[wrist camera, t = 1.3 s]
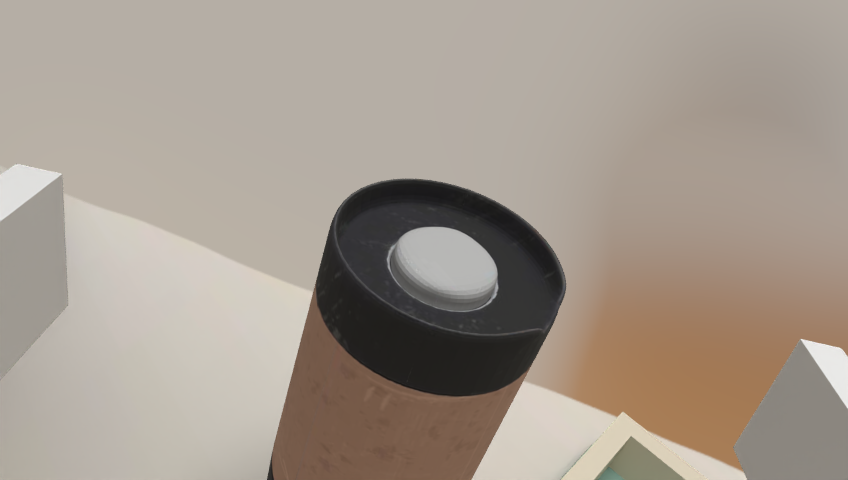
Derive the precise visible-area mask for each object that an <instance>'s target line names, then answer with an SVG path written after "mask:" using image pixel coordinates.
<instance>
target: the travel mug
mask: <svg viewBox="0 0 848 480" xmlns="http://www.w3.org/2000/svg"><path fill="white" fill-rule="evenodd" d="M565 291H566V280H565V275H564V272H563V269H562V267H561V264H560V262H559V260H558V258H557V256H556V254H555V253H554V251H553V250H552V248H551V247H550V245H549V244H548V243H547V241H546V240H545V239H544V238H543V237H542V236H541V235H540V234H539V232H538V231H537V230H535V229H534V228H533V227H532V226H531V225H530V224H529V223H528V222H526V221H525V220H524V219H523V218H521V217H520V216H518V215H517V214H516V213H514V212H513V211H511V210H509V209H508V208H507V207H505V206H503V205H501V204H499V203H498V202H496V201H494V200H492V199H490V198H488V197H486V196H483V195H481V194H479V193H476V192H474V191H471V190H468V189H465V188H462V187H459V186H455V185H451V184H447V183H443V182H437V181H432V180H423V179H393V180H387V181H381V182H377V183H374V184H371V185H368V186H366V187H363V188H361V189H359V190H357V191H356V192H354V193H353V194H351V195H350V196H349V197H348V198H347V199H346V200H345V201H344V202H343V203H342V204H341V206H340V207H339V208H338V210H337V212H336V214H335V216H334V218H333V220H332V223H331V226H330V230H329V234H328V237H327V241H326V245H325V249H324V253H323V257H322V261H321V264H320V268H319V272H318V277H317V280H316V284H315V288H314V292H313V295H312V299H311V303H310V307H309V311H308V315H307V319H306V323H305V326H304V330H303V334H302V338H301V342H300V346H299V350H298V353H297V357H296V361H295V365H294V369H293V373H292V377H291V381H290V384H289V388H288V392H287V396H286V400H285V404H284V408H283V412H282V415H281V419H280V423H279V427H278V431H277V435H276V439H275V443H274V447H273V452H272V457H271V462H270V467H269V473H268V478H267V480H471V479H472V477H473V475H474V473H475V472H476V470H477V468H478V466H479V464H480V462H481V460H482V458H483V456H484V454H485V453H486V451H487V449H488V447H489V445H490V443H491V441H492V439H493V437H494V435H495V434H496V432H497V430H498V428H499V426H500V424H501V422H502V420H503V418H504V416H505V415H506V413H507V411H508V409H509V407H510V405H511V403H512V401H513V399H514V397H515V396H516V394H517V392H518V390H519V388H520V386H521V384H522V382H523V380H524V378H525V377H526V375H527V373H528V371H529V369H530V367H531V365H532V363H533V361H534V359H535V358H536V356H537V354H538V352H539V350H540V348H541V346H542V344H543V342H544V340H545V339H546V337H547V335H548V333H549V331H550V329H551V327H552V325H553V323H554V320H555V318H556V316H557V313H558V309H559V307H560V305H561V303H562V300H563V298H564V295H565Z"/></svg>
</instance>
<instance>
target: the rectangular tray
mask: <svg viewBox="0 0 848 480" xmlns="http://www.w3.org/2000/svg"><path fill="white" fill-rule="evenodd" d="M560 480H708V479H707V478H706V477H704V476H703V475H702V474H701V473H699V472H698V471H697V470H696V469H694V468H693V467H692V466H691V465H689V464H688V463H687V462H686V461H684V460H683V459H682V458H680V457H679V456H678V455H677V454H675V453H674V452H673V451H672V450H670V449H669V448H668V447H667V446H665V445H664V444H663V443H662V442H660V441H659V440H658V439H657V438H655V437H654V436H653V435H651V434H650V433H649V432H648V431H646V430H645V429H644V428H643V427H641V426H640V425H639V424H638V423H636V422H635V421H634V420H632V419H631V418H630V417H629V416H627V415H626V414H625V413H624V412H622V413H621V414H620V415H619V416H618V417H617V419H616V420H615V421H614V422H613V423H612V424H611V425H610V426H609V427H608V428H607V430H606V431H605V432H604V433H603V434H602V435H601V436H600V437H599V438H598V439H597V440H596V442H595V443H594V444H593V445H591V446H590V447H589V449H588V450H587V451H586V452H585V453H584V454H583V455H582V456H581V457H580V458H579V460H578V461H577V462H576V463H575V464H574V465H573V466H572V467H571V468H570V469H569V471H568V472H567V473H566V474H565V475H564V476H563V477H562V478H561V479H560Z"/></svg>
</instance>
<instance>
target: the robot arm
mask: <svg viewBox="0 0 848 480" xmlns="http://www.w3.org/2000/svg"><path fill="white" fill-rule="evenodd" d="M67 306H68V290H67V268H66V245H65V223H64V200H63V179H62V174H60V173H56V172H52V171H47V170H43V169H38V168H34V167H30V166H25V165H20V164H16V165H14V166H12V167H11V168H9V169H8V170H6V171H5V172H3V173H2V174H0V380H1V379H2V377H3V376H4V375H5V374H6V373H7V372H8V371H9V370H10V369H11V368H12V366H13V365H14V364H15V363H16V362H17V361H18V360H19V359H20V358H21V356H22V355H23V354H24V353H25V352H26V351H27V350H28V349H29V348H30V347H31V345H32V344H33V343H34V342H35V341H36V340H37V339H38V338H39V337H40V336H41V334H42V333H43V332H44V331H45V330H46V329H47V328H48V327H49V326H50V324H51V323H52V322H53V321H54V320H55V319H56V318H57V317H58V316H59V315H60V313H61V312H62V311H63V310H64V309H65V308H66V307H67ZM733 448H734V451H735V453H736V455H737V457H738V460H739V462H740V464H741V466H742V469H743V471H744V473H745V476H746V478H747V480H848V357H847V355H846V354H845V353H844V351H843V350H842V349H841V348H838V347H834V346H829V345H824V344H820V343H816V342H811V341H807V340H802V339H800V341H799V342H798V344H797V345H796V347H795V349H794V350H793V352H792V354H791V355H790V357H789V358H788V360H787V361H786V363H785V365H784V366H783V368H782V370H781V371H780V373H779V374H778V376H777V378H776V379H775V381H774V382H773V384H772V386H771V387H770V389H769V391H768V392H767V394H766V395H765V397H764V399H763V400H762V402H761V403H760V405H759V407H758V408H757V410H756V412H755V413H754V415H753V416H752V418H751V420H750V421H749V423H748V424H747V426H746V428H745V429H744V431H743V432H742V434H741V436H740V438H739V439H738V440H737V442H736V444H735V445H734V447H733Z"/></svg>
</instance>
